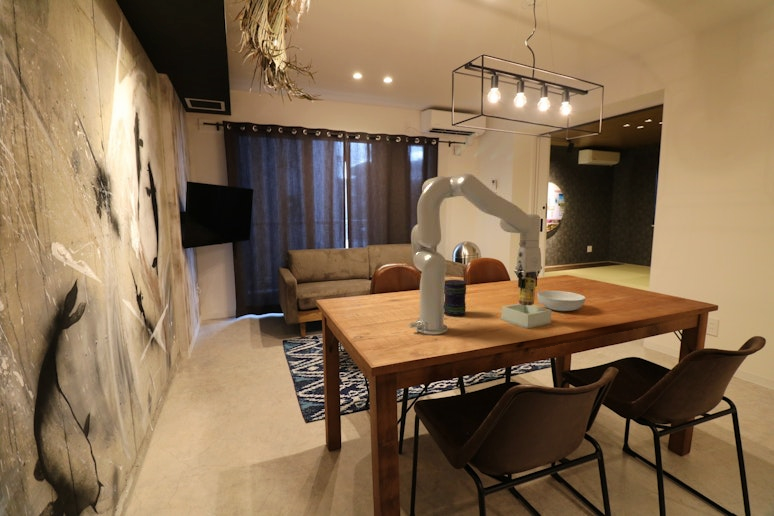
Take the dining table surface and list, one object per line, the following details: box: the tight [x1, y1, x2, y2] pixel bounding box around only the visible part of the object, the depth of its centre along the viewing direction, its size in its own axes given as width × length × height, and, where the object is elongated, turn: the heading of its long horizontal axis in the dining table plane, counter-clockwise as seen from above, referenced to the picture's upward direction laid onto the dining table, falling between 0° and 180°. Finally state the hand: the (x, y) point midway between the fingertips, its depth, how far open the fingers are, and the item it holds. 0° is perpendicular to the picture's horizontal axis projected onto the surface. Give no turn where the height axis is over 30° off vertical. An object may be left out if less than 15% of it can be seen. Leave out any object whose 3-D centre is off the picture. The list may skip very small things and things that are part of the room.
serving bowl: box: [536, 290, 586, 312], centre depth 178 cm, size 21×21×7 cm
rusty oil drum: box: [444, 279, 467, 318], centre depth 170 cm, size 10×10×15 cm
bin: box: [500, 303, 553, 330], centre depth 158 cm, size 14×14×6 cm
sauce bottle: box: [518, 272, 537, 305], centre depth 156 cm, size 7×6×20 cm
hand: (527, 286), depth 157 cm, fingers closed on sauce bottle, 6 cm apart
